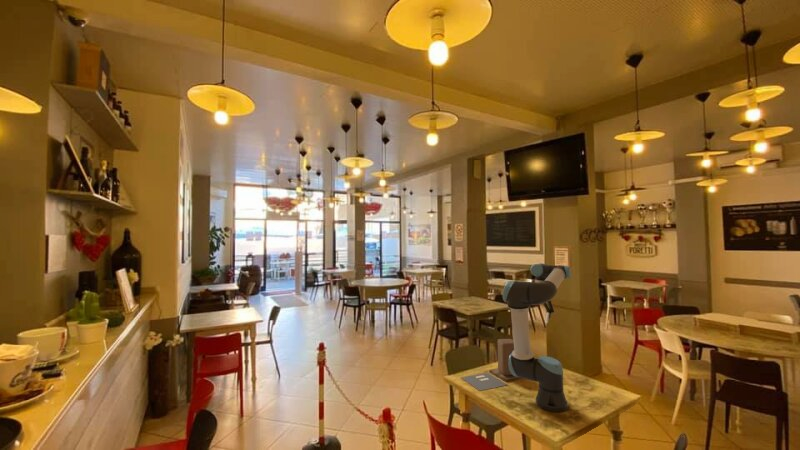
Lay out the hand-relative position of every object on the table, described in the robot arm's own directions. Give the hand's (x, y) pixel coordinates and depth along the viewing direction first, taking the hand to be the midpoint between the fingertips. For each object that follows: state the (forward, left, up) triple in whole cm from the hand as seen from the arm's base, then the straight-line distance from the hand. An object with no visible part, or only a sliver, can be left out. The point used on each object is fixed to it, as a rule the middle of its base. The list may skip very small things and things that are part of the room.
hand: (536, 320), depth 213 cm
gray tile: (+7, +36, -34) cm, 50 cm away
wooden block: (+8, +16, -33) cm, 38 cm away
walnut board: (+9, +16, -34) cm, 39 cm away
